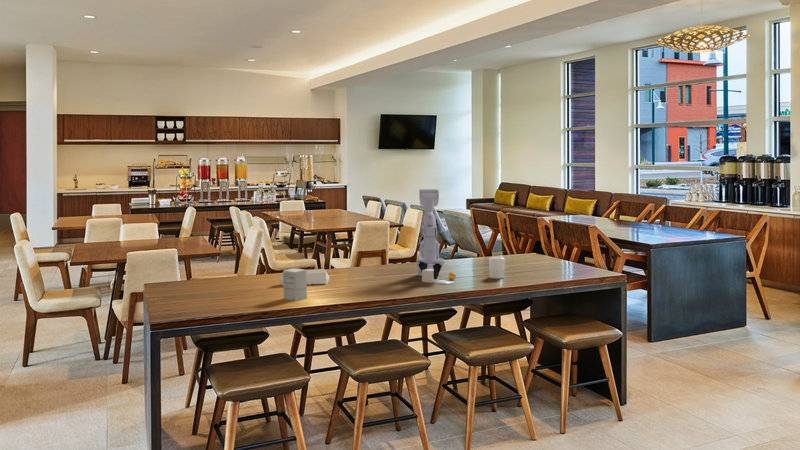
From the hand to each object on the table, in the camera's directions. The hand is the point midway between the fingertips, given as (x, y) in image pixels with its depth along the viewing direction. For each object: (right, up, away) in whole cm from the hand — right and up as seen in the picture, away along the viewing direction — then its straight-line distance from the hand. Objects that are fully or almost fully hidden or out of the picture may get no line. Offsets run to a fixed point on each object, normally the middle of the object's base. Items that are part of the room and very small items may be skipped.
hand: (430, 278), depth 351 cm
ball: (+11, +1, +4) cm, 11 cm away
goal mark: (+6, -2, -3) cm, 7 cm away
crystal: (-61, -3, -4) cm, 61 cm away
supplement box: (-60, -6, -37) cm, 71 cm away
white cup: (+34, 0, +9) cm, 35 cm away
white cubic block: (0, -1, 0) cm, 1 cm away
